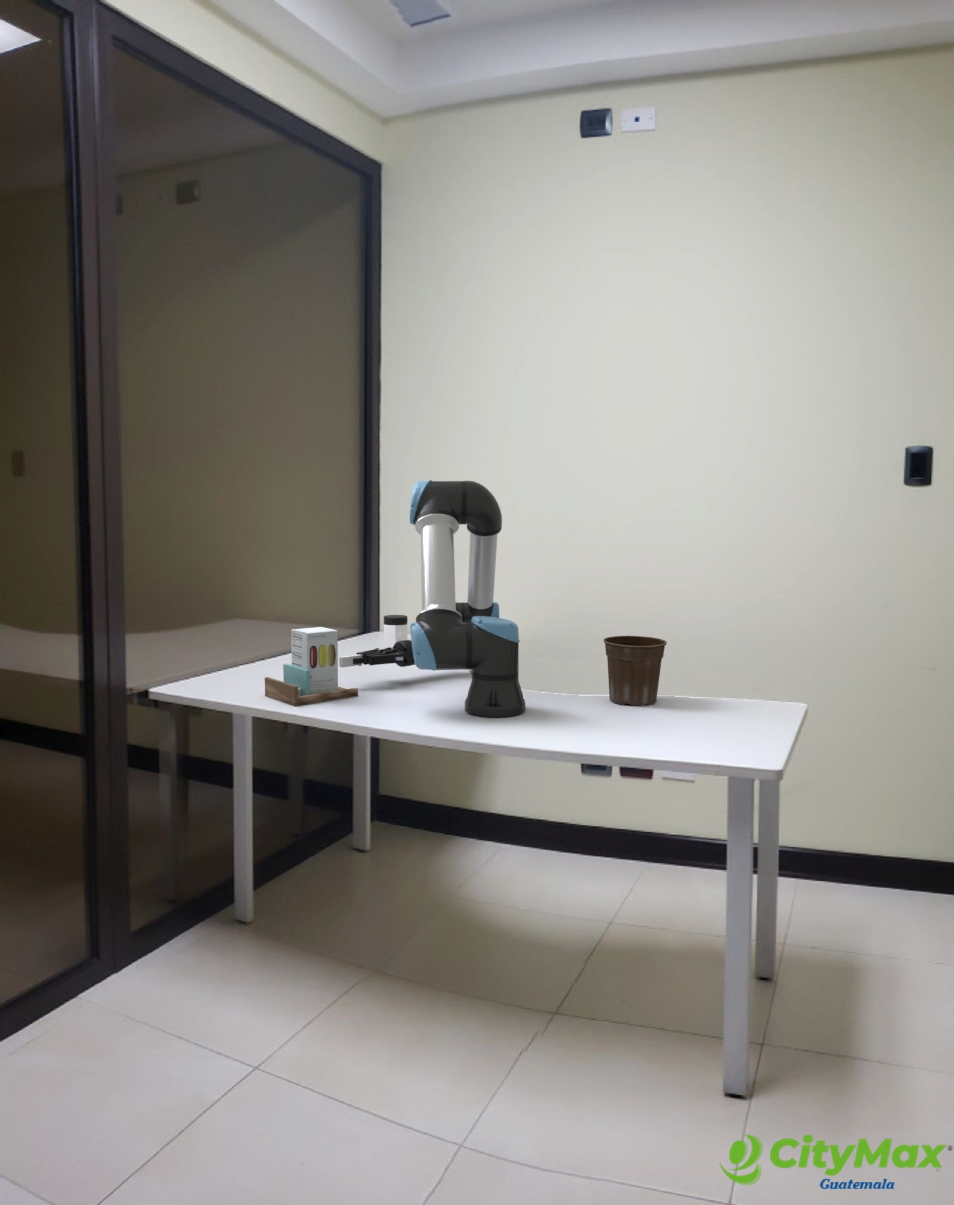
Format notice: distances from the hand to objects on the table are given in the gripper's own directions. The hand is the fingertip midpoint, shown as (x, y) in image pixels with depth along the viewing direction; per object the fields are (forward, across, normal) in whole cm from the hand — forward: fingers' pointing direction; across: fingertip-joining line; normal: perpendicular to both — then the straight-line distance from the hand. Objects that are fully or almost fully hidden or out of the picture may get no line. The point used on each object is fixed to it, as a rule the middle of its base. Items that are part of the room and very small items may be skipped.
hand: (340, 662), depth 256 cm
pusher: (+15, 0, -7) cm, 16 cm away
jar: (-50, +43, -8) cm, 67 cm away
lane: (+9, 0, -8) cm, 12 cm away
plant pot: (-51, -60, -8) cm, 79 cm away
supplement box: (+8, 0, -7) cm, 11 cm away
